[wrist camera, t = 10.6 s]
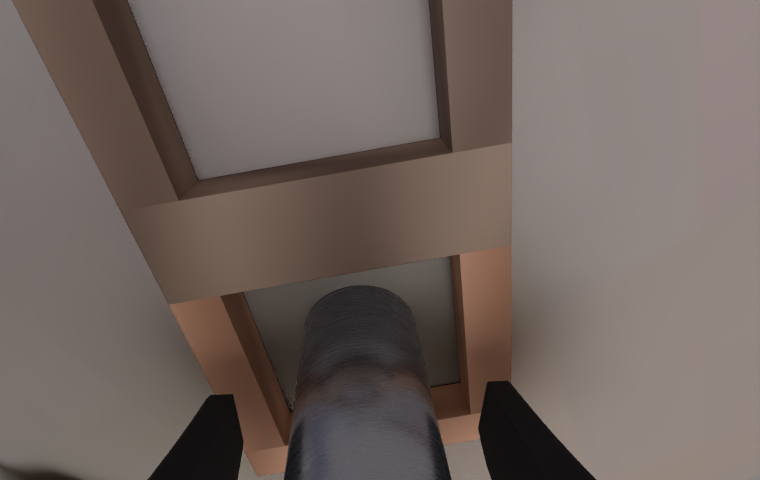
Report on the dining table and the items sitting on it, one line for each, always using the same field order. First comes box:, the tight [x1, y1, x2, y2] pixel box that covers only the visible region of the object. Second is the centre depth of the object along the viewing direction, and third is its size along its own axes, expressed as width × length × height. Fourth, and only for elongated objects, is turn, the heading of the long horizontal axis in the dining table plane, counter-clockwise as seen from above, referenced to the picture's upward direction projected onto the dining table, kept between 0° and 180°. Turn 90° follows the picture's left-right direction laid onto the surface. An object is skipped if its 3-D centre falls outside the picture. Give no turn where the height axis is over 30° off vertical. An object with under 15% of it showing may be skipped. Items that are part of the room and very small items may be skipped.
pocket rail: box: [12, 0, 512, 476], centre depth 11 cm, size 10×20×2 cm, turn 9°
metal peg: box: [284, 286, 451, 480], centre depth 11 cm, size 4×4×8 cm
